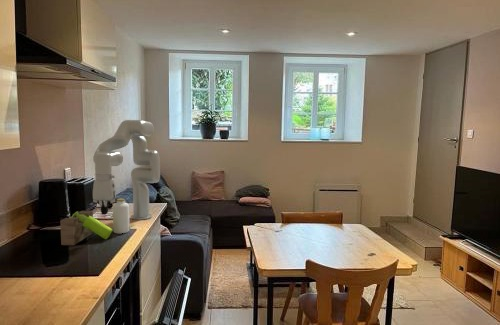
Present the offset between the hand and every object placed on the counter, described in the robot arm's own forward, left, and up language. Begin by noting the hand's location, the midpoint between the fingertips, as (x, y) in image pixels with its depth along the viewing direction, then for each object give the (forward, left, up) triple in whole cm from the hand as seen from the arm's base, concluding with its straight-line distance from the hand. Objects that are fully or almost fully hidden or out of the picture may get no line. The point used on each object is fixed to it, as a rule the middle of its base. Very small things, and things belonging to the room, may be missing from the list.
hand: (104, 213), depth 180 cm
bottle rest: (0, -14, -13) cm, 19 cm away
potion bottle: (-13, +3, -13) cm, 19 cm away
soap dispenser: (0, +2, -11) cm, 11 cm away
